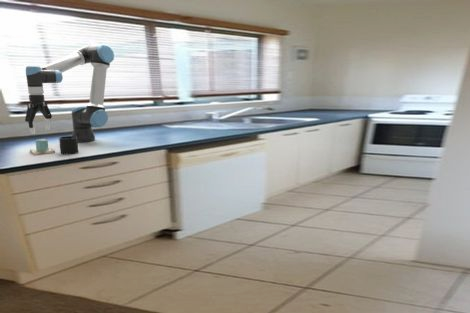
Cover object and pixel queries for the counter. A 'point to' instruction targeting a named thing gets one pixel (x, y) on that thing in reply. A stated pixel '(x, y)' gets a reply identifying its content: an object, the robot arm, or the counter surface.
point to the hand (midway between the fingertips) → (40, 131)
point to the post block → (42, 151)
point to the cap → (42, 145)
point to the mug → (68, 145)
